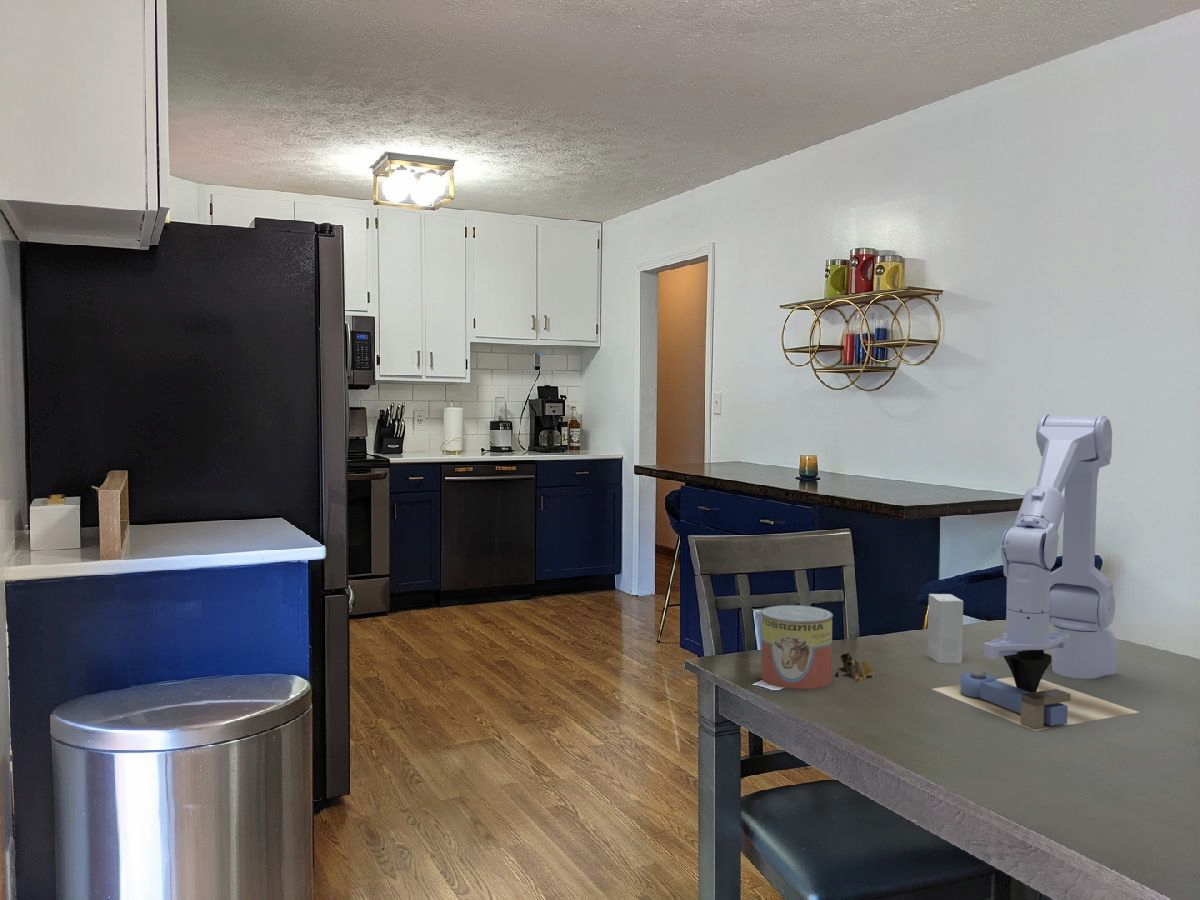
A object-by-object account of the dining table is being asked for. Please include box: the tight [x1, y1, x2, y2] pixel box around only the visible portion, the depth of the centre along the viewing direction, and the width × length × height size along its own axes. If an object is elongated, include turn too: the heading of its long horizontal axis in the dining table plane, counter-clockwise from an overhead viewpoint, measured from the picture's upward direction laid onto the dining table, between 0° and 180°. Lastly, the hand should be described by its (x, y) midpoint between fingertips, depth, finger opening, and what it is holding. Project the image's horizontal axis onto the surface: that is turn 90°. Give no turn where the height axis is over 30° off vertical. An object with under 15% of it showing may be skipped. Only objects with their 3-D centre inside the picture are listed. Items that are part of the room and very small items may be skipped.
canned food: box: [760, 604, 834, 690], centre depth 150 cm, size 11×11×12 cm
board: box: [931, 676, 1140, 732], centre depth 139 cm, size 20×20×1 cm
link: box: [959, 669, 1068, 726], centre depth 136 cm, size 18×5×3 cm, turn 21°
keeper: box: [1020, 689, 1071, 731], centre depth 129 cm, size 6×2×5 cm, turn 112°
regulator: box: [835, 652, 873, 684], centre depth 150 cm, size 8×4×15 cm
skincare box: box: [926, 593, 964, 664], centre depth 162 cm, size 6×4×12 cm
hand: (1026, 701), depth 136 cm, fingers closed
